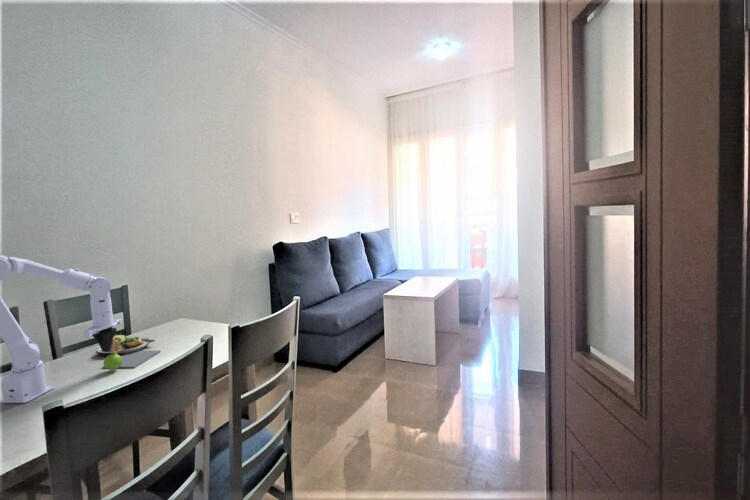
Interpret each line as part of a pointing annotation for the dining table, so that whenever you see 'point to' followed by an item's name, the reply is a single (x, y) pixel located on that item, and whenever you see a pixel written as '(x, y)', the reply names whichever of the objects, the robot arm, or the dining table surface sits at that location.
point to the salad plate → (127, 345)
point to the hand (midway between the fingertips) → (106, 350)
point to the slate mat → (136, 358)
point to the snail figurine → (113, 356)
